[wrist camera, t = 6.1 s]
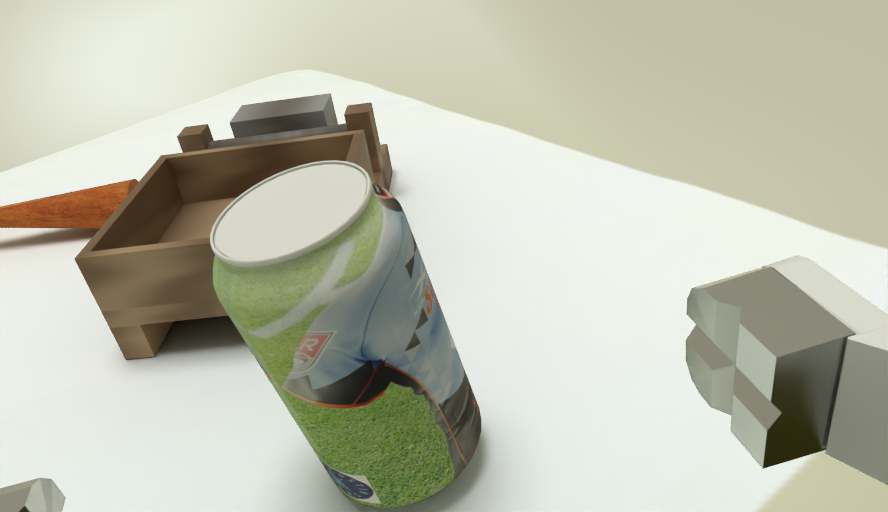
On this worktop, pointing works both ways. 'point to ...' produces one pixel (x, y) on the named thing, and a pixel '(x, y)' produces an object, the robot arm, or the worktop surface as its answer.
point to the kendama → (68, 208)
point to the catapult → (208, 211)
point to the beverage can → (348, 330)
